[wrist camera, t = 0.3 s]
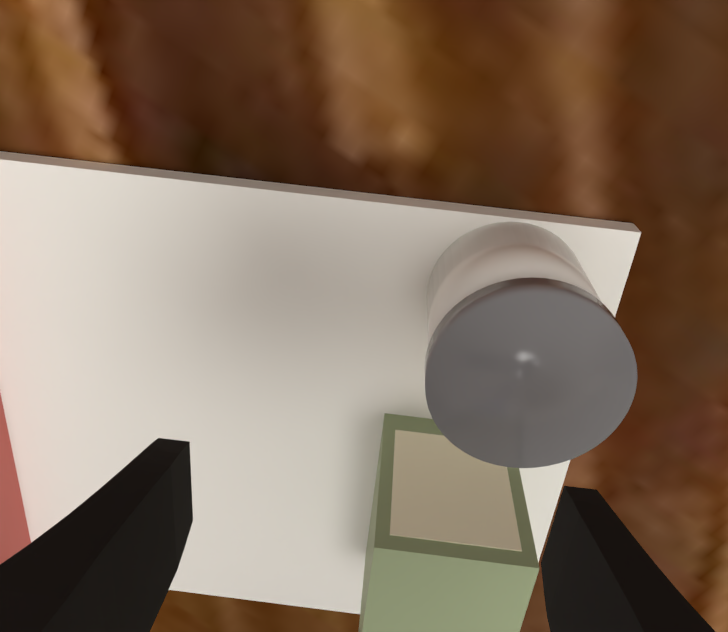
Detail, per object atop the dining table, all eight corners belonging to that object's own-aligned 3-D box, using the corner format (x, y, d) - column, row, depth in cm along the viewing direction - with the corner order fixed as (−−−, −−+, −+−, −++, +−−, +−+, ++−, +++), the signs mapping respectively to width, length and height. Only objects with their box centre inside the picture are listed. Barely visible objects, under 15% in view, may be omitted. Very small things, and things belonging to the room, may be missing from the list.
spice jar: (565, 372, 21) (605, 479, 17) (413, 354, 21) (412, 455, 17) (606, 228, 19) (665, 307, 14) (436, 209, 19) (441, 281, 15)
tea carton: (475, 569, 26) (490, 723, 20) (365, 555, 26) (351, 704, 21) (511, 427, 22) (539, 567, 17) (384, 412, 23) (374, 546, 17)
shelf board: (513, 617, 28) (522, 679, 26) (9, 553, 29) (-29, 608, 26) (633, 223, 20) (663, 258, 17) (-85, 141, 20) (-155, 164, 18)
